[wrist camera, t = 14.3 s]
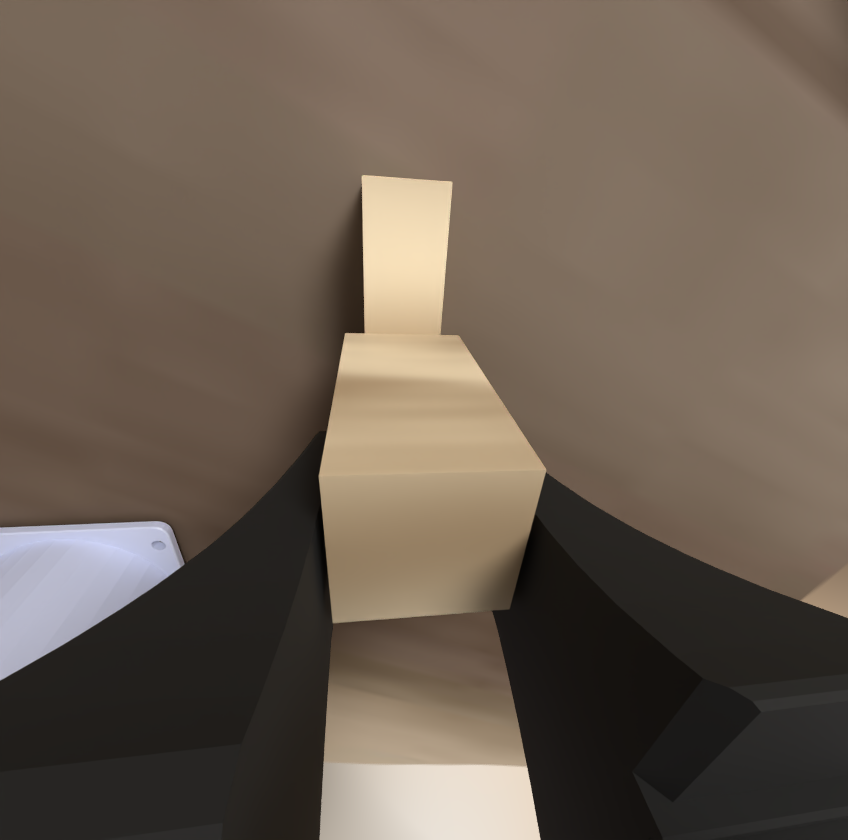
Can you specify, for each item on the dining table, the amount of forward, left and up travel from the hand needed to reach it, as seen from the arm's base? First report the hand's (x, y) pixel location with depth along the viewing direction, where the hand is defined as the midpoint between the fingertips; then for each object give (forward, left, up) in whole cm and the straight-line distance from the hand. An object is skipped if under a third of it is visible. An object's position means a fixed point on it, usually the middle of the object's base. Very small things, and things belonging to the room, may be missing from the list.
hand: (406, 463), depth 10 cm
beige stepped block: (+1, 0, -5) cm, 5 cm away
